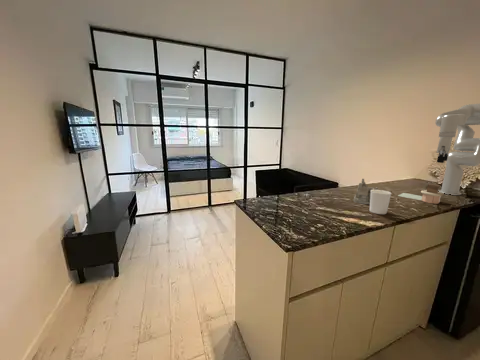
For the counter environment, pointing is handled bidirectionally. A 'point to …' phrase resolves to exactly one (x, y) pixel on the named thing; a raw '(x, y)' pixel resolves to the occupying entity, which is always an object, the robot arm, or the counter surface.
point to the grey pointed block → (363, 193)
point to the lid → (432, 190)
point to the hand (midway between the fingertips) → (441, 161)
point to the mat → (411, 196)
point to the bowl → (431, 199)
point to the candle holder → (379, 201)
